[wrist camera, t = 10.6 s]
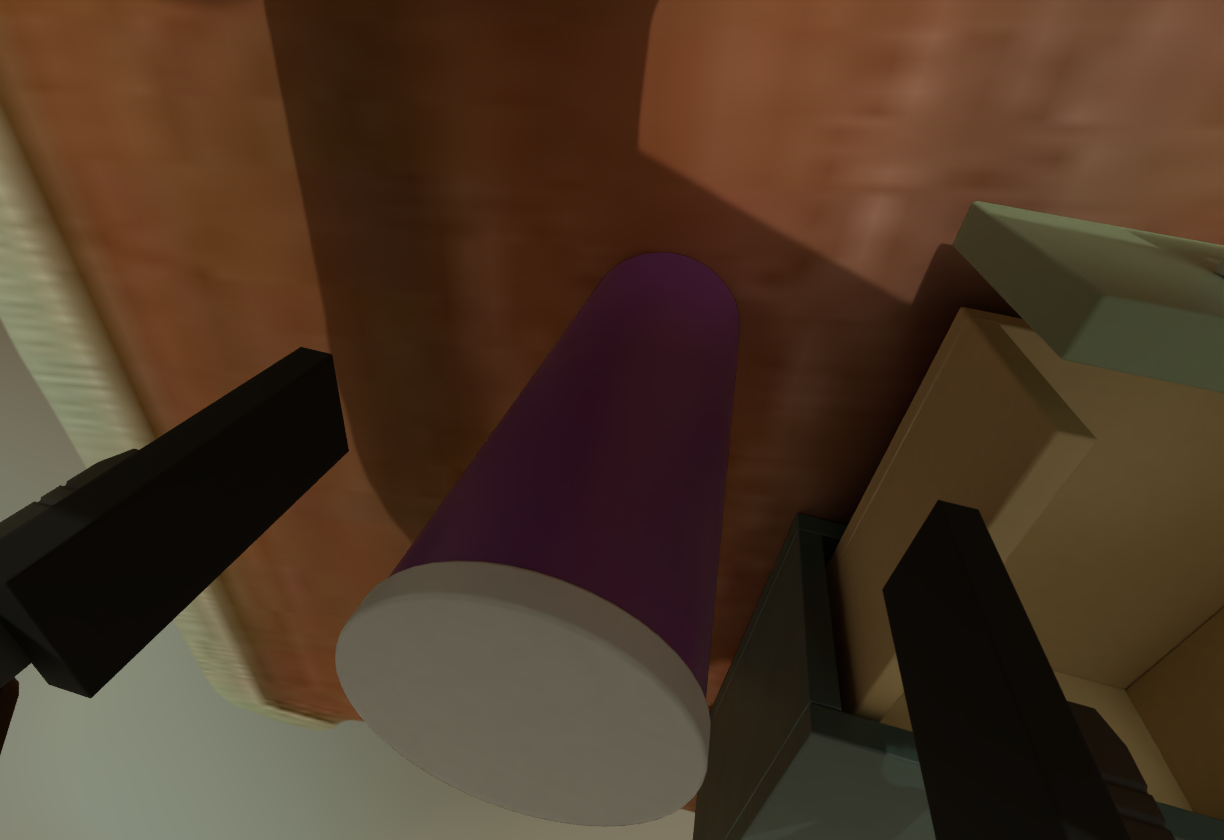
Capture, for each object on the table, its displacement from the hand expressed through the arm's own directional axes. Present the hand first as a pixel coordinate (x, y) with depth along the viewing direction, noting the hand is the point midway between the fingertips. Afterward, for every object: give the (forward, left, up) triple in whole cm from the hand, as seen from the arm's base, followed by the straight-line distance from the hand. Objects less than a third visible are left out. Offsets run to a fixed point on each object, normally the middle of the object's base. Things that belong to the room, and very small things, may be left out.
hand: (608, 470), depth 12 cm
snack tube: (0, 0, -8) cm, 8 cm away
